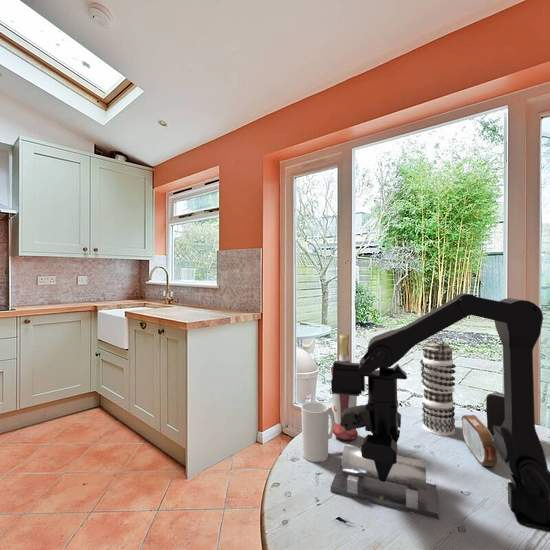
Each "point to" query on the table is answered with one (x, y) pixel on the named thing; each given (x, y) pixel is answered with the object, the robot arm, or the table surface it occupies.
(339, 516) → the table surface
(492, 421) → the battery charger
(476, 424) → the tin
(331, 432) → the mug
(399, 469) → the tube
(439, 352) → the decorative candle
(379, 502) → the cradle
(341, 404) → the liquor
